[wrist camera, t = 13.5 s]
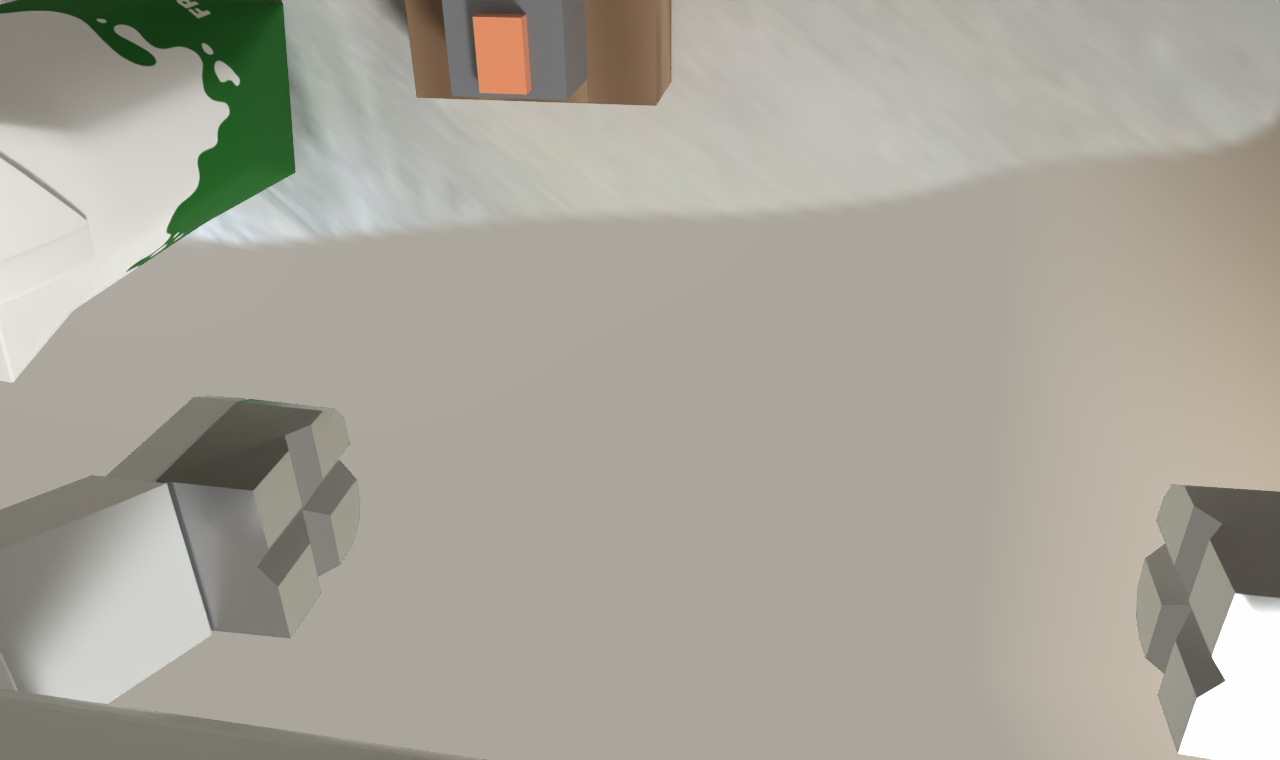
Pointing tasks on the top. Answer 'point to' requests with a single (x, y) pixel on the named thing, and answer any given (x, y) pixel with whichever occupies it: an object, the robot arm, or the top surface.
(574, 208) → the top surface
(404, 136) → the top surface
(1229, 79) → the top surface
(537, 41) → the grey bar
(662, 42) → the keyhole board
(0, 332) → the milk carton
